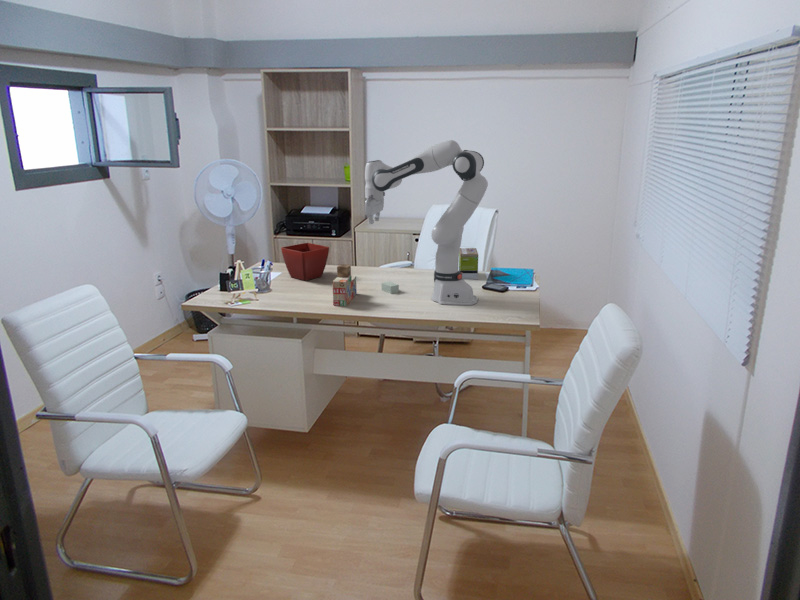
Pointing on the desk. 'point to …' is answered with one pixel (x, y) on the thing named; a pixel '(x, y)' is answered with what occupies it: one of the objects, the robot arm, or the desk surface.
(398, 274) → the desk surface
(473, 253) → the tea box
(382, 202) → the robot arm
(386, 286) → the sage block
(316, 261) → the plant pot
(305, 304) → the desk surface
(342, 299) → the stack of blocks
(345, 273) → the walnut cube
